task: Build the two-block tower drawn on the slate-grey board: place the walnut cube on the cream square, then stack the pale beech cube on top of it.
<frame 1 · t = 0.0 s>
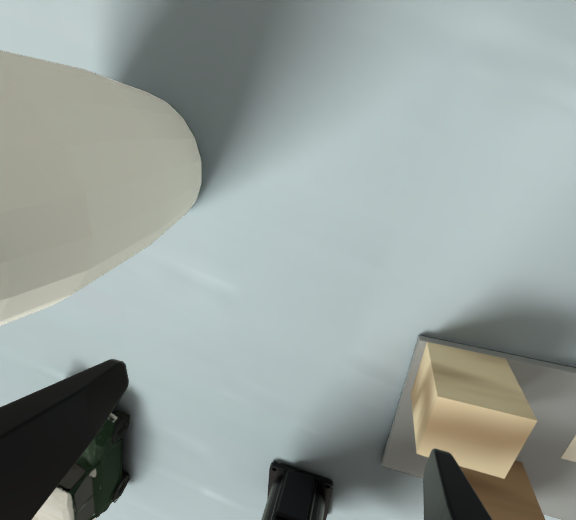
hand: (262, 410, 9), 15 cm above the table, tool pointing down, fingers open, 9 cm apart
miniature car: (101, 433, 41), on the table
block a: (476, 472, 26), point 1 cm above the table, touching board
block b: (454, 377, 23), point 1 cm above the table, touching board
board: (551, 443, 24), on the table
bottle: (151, 161, 24), on the table
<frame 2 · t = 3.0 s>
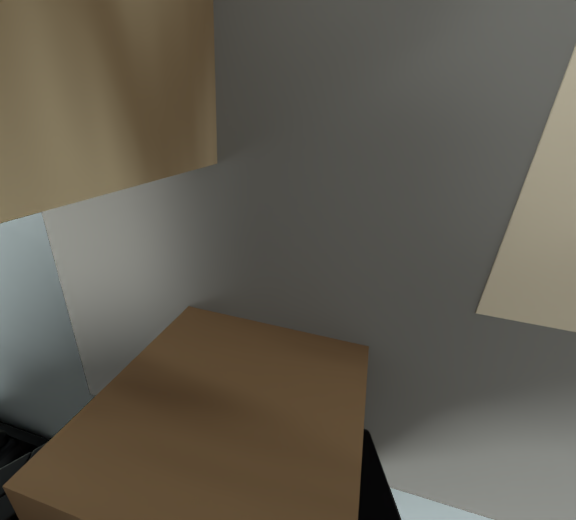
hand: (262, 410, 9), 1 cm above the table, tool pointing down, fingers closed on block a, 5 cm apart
block a: (269, 393, 10), point 1 cm above the table, touching board, gripper
block b: (103, 25, 7), point 1 cm above the table, touching board
board: (451, 275, 7), on the table
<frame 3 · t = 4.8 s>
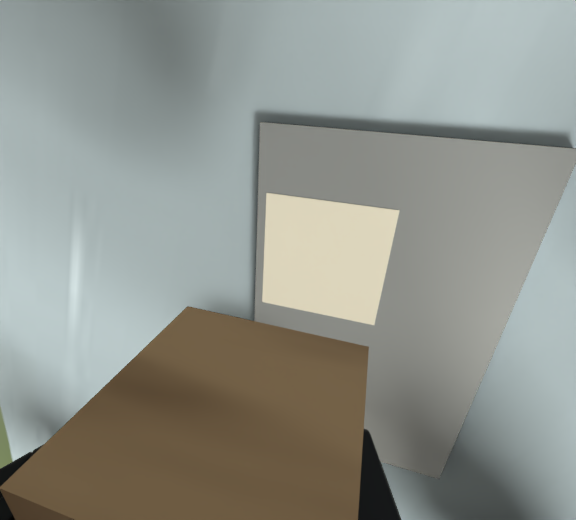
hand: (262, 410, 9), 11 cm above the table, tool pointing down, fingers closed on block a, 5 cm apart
block a: (268, 394, 10), point 10 cm above the table, touching gripper
board: (364, 324, 20), on the table
when the fingers open (2 cm above the table, at t = 6.7 s): block a stays where it is, resting on board.
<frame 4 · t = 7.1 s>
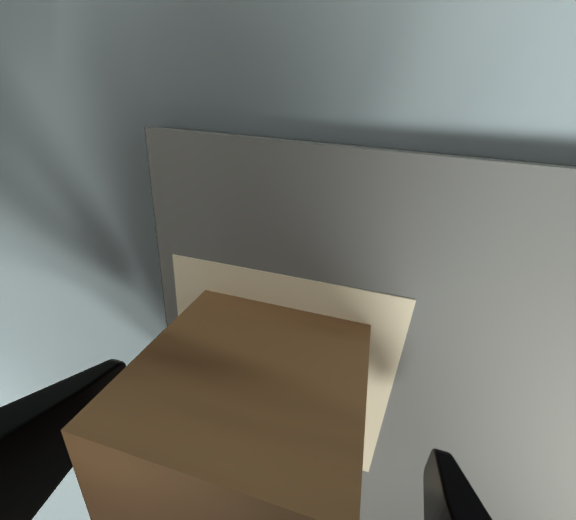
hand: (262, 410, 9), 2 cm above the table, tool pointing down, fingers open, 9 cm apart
block a: (278, 371, 10), point 1 cm above the table, touching board
board: (353, 459, 12), on the table
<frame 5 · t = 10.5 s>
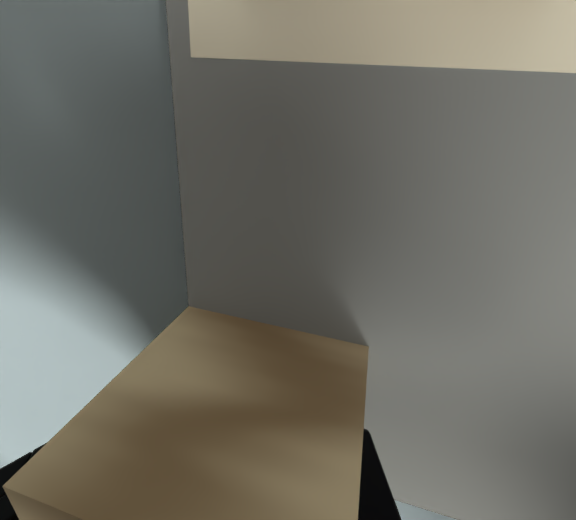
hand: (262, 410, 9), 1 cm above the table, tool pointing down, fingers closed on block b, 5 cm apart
block b: (269, 393, 10), point 1 cm above the table, touching board, gripper
board: (536, 108, 6), on the table
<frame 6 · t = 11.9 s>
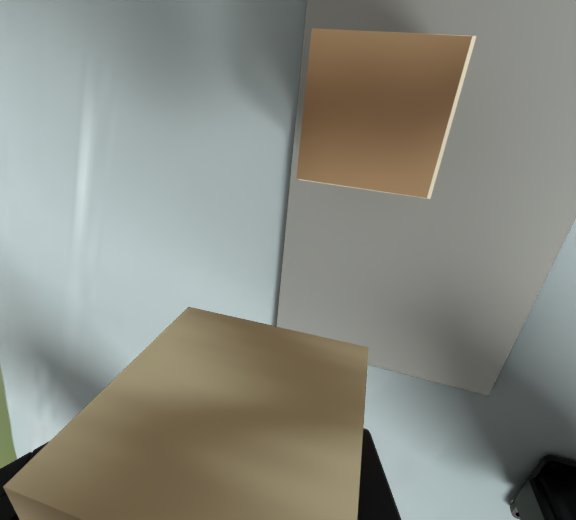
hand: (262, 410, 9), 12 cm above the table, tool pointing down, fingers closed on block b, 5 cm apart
block a: (375, 118, 16), point 1 cm above the table, touching board
block b: (268, 394, 10), point 12 cm above the table, touching gripper
board: (416, 204, 17), on the table
when the fingers open (7 cm above the table, at t = 13.8 s): block b drops 1 cm, resting on block a.
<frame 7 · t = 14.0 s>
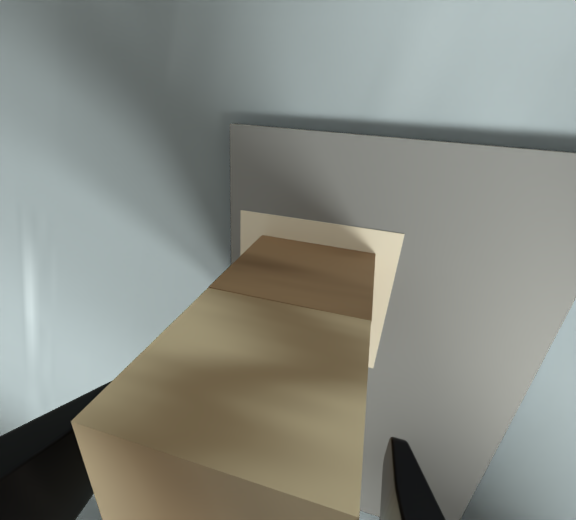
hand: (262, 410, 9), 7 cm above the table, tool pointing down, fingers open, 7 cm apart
block a: (310, 293, 15), point 1 cm above the table, touching block b, board
block b: (280, 367, 11), point 6 cm above the table, touching block a
board: (362, 364, 17), on the table
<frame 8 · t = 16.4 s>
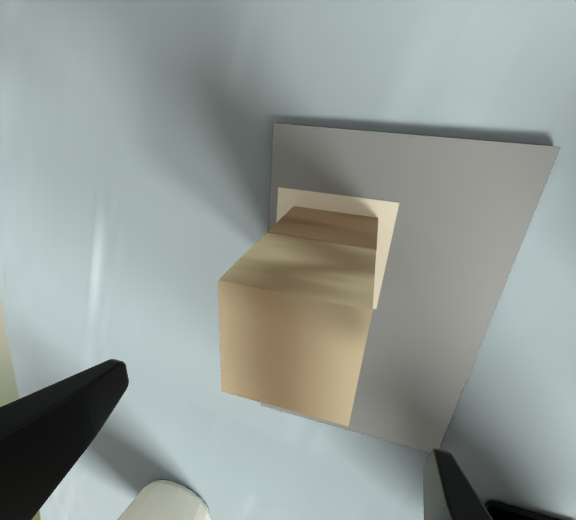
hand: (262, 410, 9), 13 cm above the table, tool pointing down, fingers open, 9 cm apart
block a: (329, 250, 20), point 1 cm above the table, touching block b, board
block b: (314, 288, 16), point 6 cm above the table, touching block a
board: (367, 309, 22), on the table
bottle: (179, 502, 39), on the table
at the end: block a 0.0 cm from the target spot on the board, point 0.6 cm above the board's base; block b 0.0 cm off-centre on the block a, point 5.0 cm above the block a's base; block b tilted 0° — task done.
